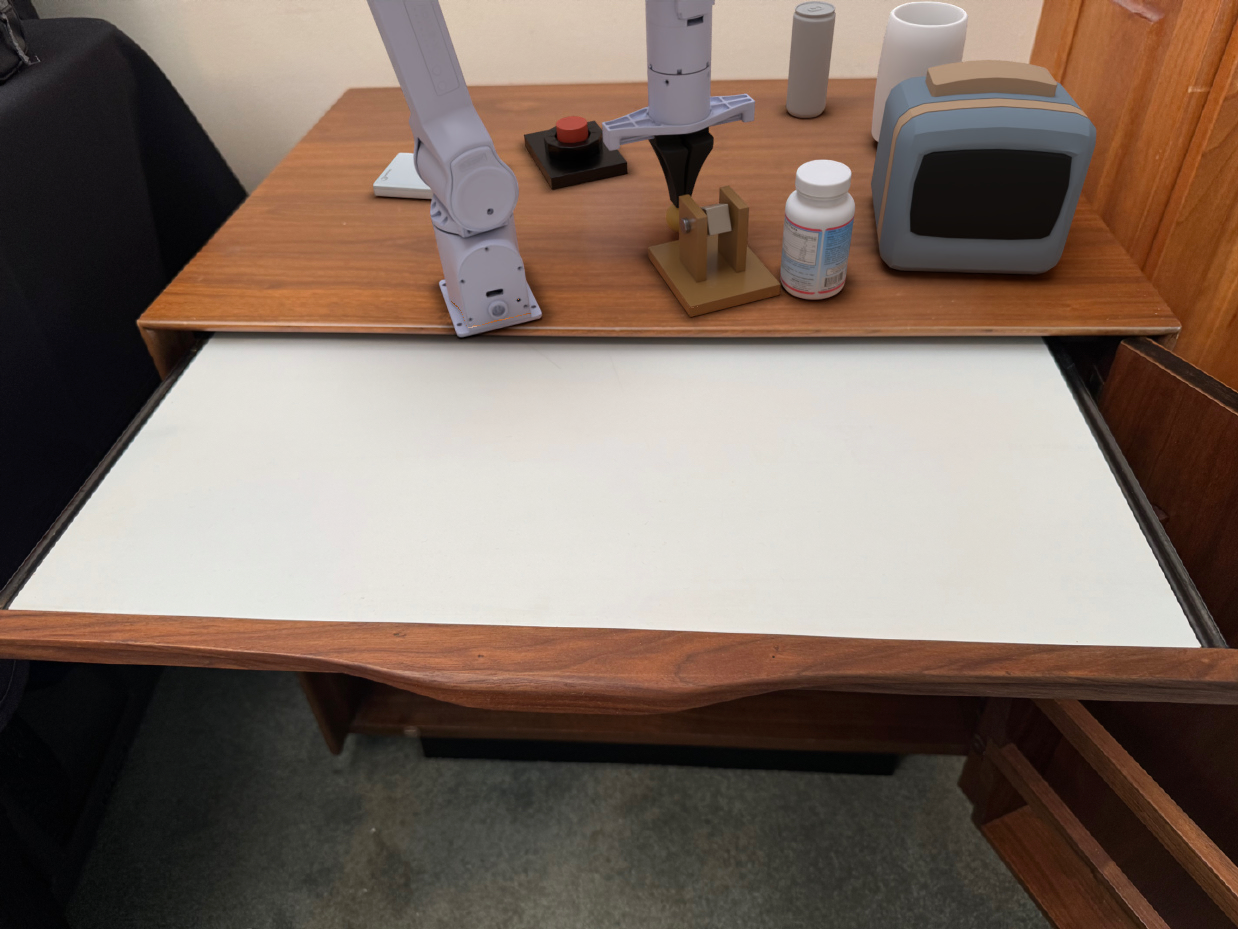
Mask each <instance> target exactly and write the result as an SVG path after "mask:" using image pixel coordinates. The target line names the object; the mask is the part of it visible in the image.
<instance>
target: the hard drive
mask: <svg viewBox="0 0 1238 929" xmlns="http://www.w3.org/2000/svg"><path fill="white" fill-rule="evenodd" d="M413 155H414V152H398V153H397V154H396V156H395V157H394V158H393V159H392V160H391V162H390V163H389V164H388V165H387V166H386V168H384V170H383V172H382V173H381V174H380V175H379V176H378V177H377V179H376V180H375V181H374V182H373V184H372V188H373V194H374V196H376V197H390V198H404V199H405V198H406V199H420V200H421V199H423V200H424V199H425V200H432V196H433V192H432V190H431V189H430V187H429V186H427V185H426V184H425V183H424V182H423V181H422V180H421V179H420V177H419V176H418V174H417V172H416V170H415V166H414V159H413Z"/></svg>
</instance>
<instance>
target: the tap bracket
mask: <svg viewBox="0 0 1238 929" xmlns="http://www.w3.org/2000/svg"><path fill="white" fill-rule="evenodd" d="M718 192H719V193H718V204H728V208H729V215H730V222H731V229H732V231H728V232H724V233H720V234H715V235H711V236H708V235H707V222H708V216H707V215H706V214H705V213H704V212H703V210H702V209H701V208H700V207H701V206H700V205H699V204H698V203H697V202H696V201H695V200H694V198H693V196H692V197H691V196H690V195H689V194H687V195H683V196H679V232H678V240H677V239H676V240H673V241H668V242H664V243H660V244H656V245H651V246H648V247H647V257H648V259H649V261H650V262H651V263H652V265H653V266H654V267H655V270H657V272H658V273H659V275H660V276H661V277H662V279H663V281H664V282H665V283H666V285H667V286H668V287H669V289H670V291H671V292H672V294H673V295H674V296H675V298H676V299H677V300H678V302H679V303H680V305H681V307H682V308H683V309H684V311H685V312H686V313H687V315H688V316H689V318H693V317H697V316H700V315H706V314H709V313H713V312H717V311H721V310H725V309H729V308H732V307H737V306H741V305H745V304H750V303H753V302H756V301H760V300H761V301H762V300H765V299H769V298H773V297H777V296H780V294H781V286H782V284H781V282H779V280H778V279H777V278H776V277H775V276H774V275H773V274H772V272H771V271H770V270H769V269H768V267H766V265H765V264H764V263H763V262H762V261H761V260H760V258H759V257H758V256H757V255H756V254H755V252H754V251H753V250H752V249H751V248H750V247H749V246H748V234H749V233H748V232H749V217H750V216H749V215H750V206H749V205H748V204H747V203H746V202H745V200H743V199H742V197H741V196H740V195H739V194H738V192H736V191H735V190H734V189H733V188H732V187H731V186H730V185H724V186H720V187H719V190H718ZM682 297H683V298H682ZM685 301H686V302H685ZM687 304H688V305H687ZM697 306H698V307H697ZM689 307H690V308H689ZM691 307H694V308H691Z"/></svg>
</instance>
